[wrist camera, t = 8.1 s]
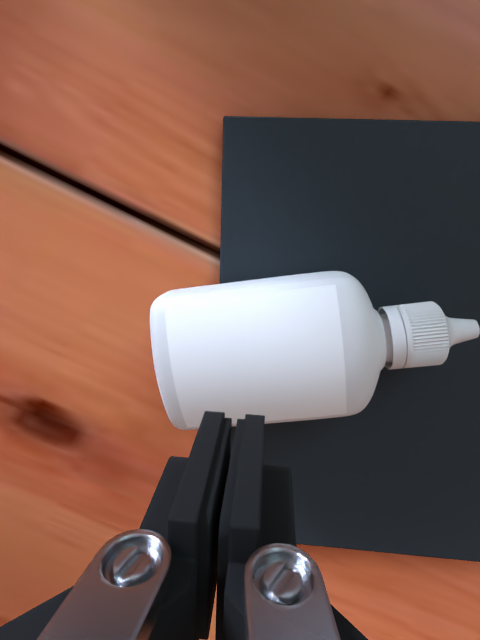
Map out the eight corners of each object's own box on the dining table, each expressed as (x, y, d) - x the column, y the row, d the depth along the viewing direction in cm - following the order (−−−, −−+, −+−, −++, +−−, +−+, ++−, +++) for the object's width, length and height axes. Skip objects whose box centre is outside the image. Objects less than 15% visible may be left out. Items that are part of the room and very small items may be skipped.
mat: (224, 119, 15) (223, 115, 15) (599, 127, 14) (613, 124, 14) (215, 527, 21) (213, 536, 21) (484, 553, 20) (490, 563, 20)
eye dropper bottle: (147, 431, 13) (528, 400, 12) (145, 277, 15) (482, 233, 13) (183, 431, 17) (468, 408, 16) (180, 311, 19) (438, 280, 17)
